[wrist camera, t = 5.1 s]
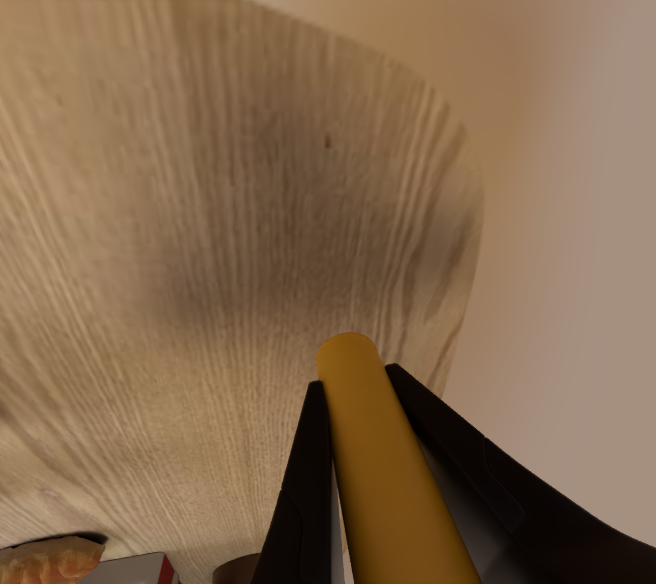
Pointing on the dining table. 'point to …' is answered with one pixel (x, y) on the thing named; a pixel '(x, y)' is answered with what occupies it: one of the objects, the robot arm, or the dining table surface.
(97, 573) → the red gift box
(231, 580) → the brown cylindrical pot
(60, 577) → the pastry
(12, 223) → the dining table surface
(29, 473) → the dining table surface
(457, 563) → the pencil
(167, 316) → the dining table surface
